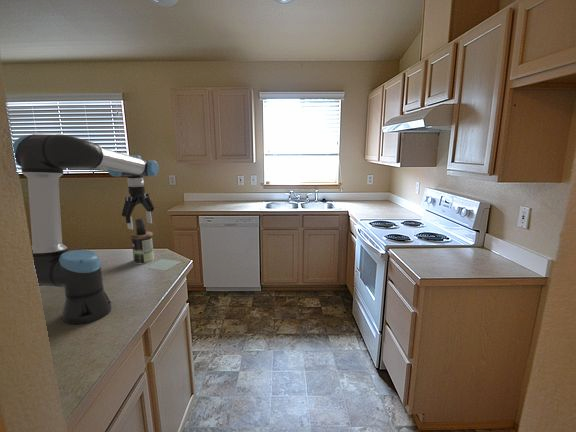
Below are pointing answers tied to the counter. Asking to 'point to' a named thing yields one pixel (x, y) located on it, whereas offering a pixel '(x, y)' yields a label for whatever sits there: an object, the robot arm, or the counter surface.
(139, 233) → the lid
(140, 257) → the coffee can
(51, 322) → the counter surface
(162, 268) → the mat
